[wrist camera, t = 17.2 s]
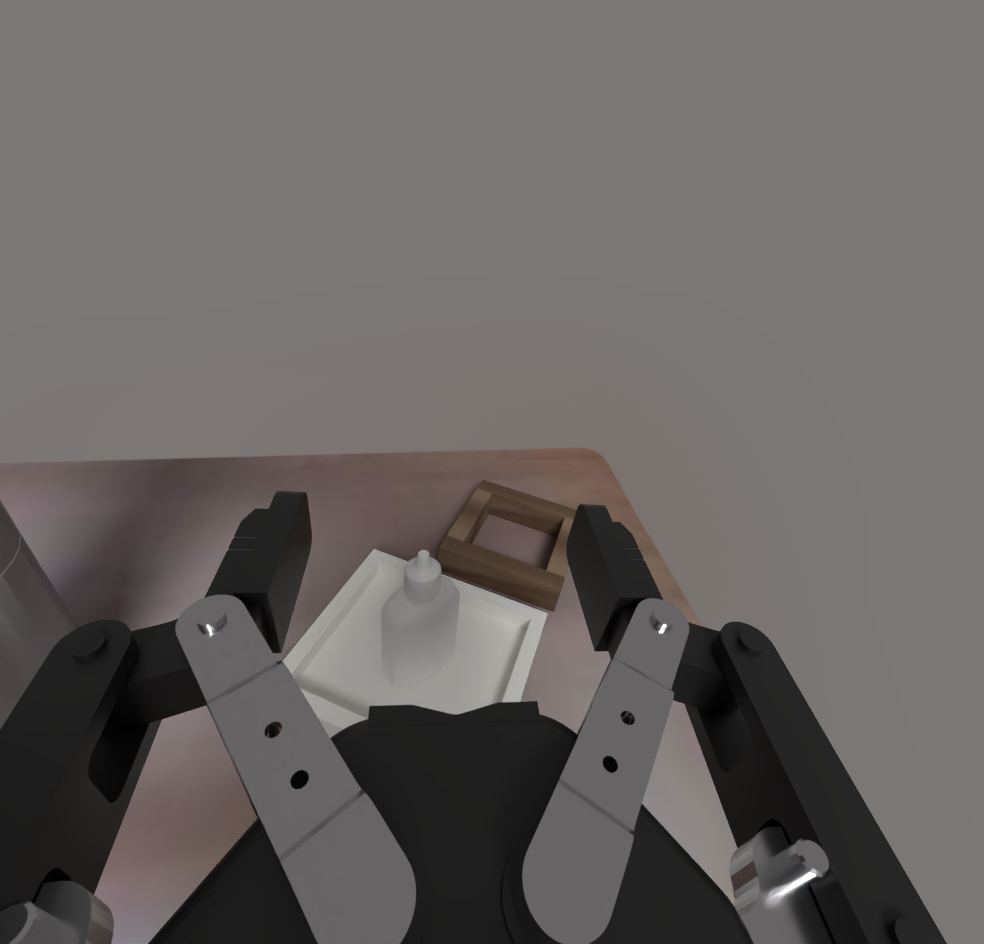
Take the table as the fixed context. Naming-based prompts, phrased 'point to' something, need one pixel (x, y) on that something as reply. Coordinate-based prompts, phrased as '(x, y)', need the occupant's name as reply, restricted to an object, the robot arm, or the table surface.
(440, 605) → the eye dropper bottle
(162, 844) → the table surface
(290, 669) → the tray
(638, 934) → the robot arm
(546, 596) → the walnut holder
